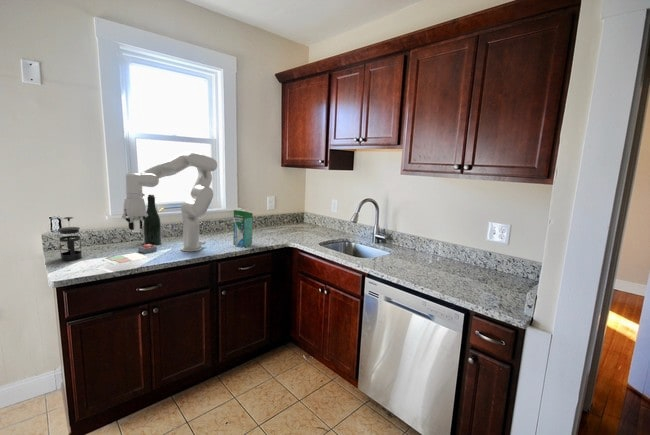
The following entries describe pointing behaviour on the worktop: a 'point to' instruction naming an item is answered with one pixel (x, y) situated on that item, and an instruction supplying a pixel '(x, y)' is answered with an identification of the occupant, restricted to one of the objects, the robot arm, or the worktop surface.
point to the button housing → (147, 249)
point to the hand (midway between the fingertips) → (135, 228)
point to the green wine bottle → (152, 224)
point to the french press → (70, 243)
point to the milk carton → (242, 228)
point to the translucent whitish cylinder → (136, 224)
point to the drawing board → (124, 258)
